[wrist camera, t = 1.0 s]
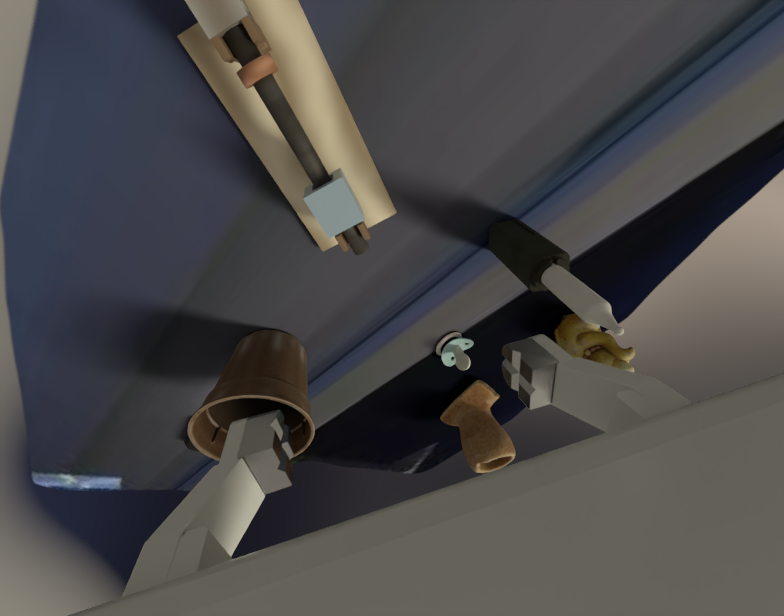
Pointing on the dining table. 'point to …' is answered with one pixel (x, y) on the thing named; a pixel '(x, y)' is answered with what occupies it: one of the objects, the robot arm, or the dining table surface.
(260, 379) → the plant pot
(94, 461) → the dining table surface
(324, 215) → the marker sleeve
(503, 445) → the brown clay boot vase
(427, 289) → the dining table surface
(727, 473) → the robot arm
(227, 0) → the cord stand
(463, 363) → the pacifier
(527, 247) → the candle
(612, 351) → the decorative figurine
